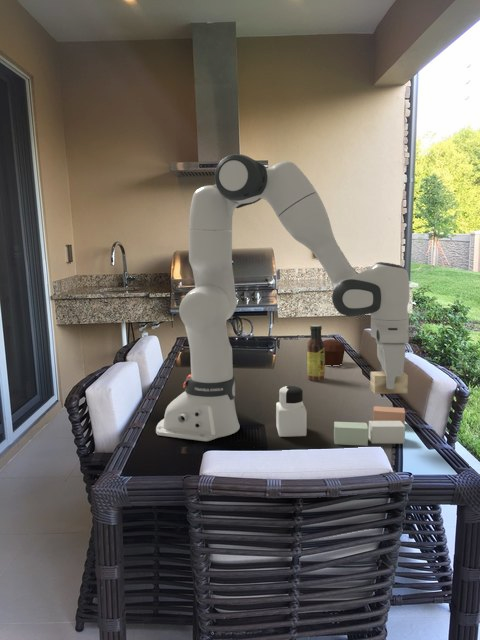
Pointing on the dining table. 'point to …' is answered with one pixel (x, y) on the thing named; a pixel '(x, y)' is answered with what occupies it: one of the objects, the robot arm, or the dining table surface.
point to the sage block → (350, 433)
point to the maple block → (380, 383)
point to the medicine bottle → (291, 412)
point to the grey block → (386, 432)
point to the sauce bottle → (316, 355)
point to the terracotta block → (389, 414)
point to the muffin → (333, 352)
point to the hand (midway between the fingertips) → (388, 384)
